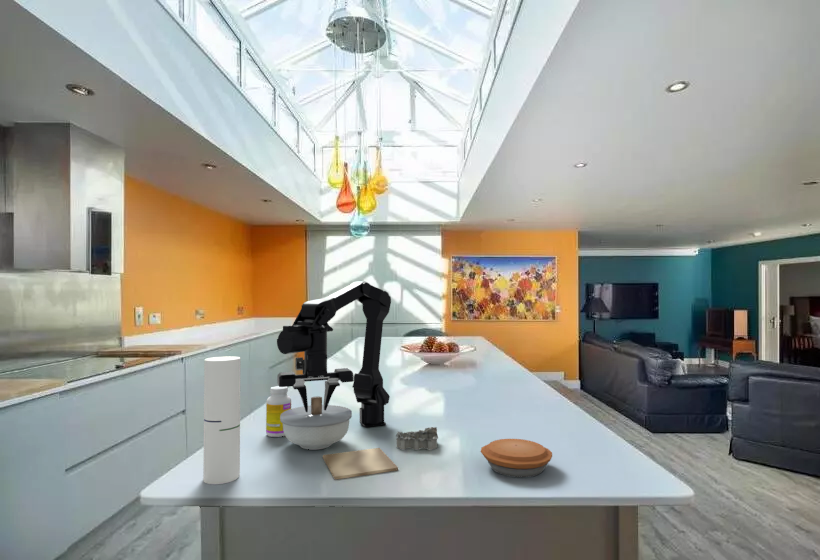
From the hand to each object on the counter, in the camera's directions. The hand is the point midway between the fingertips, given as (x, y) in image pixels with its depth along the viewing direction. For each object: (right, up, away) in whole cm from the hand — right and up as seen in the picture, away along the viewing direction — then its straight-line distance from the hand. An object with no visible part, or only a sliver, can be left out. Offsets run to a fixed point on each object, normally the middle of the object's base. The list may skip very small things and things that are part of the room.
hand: (315, 410), depth 119 cm
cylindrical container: (-16, -8, -21) cm, 28 cm away
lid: (0, -2, 0) cm, 2 cm away
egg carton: (+26, -9, -1) cm, 28 cm away
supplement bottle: (-12, -9, +9) cm, 18 cm away
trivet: (+13, -8, -14) cm, 20 cm away
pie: (+48, -8, -16) cm, 51 cm away
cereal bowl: (0, -9, 0) cm, 9 cm away
